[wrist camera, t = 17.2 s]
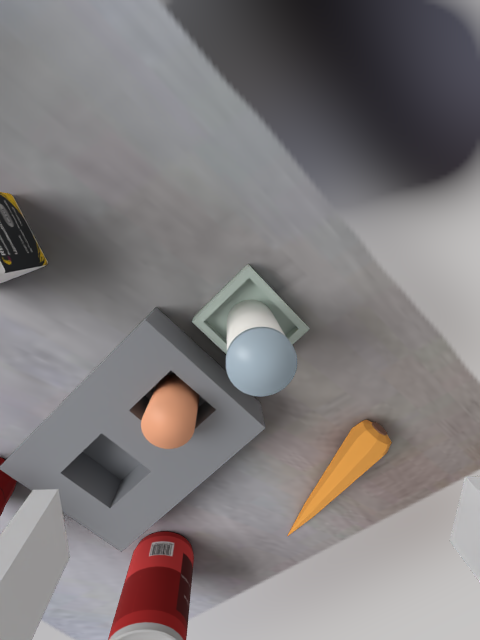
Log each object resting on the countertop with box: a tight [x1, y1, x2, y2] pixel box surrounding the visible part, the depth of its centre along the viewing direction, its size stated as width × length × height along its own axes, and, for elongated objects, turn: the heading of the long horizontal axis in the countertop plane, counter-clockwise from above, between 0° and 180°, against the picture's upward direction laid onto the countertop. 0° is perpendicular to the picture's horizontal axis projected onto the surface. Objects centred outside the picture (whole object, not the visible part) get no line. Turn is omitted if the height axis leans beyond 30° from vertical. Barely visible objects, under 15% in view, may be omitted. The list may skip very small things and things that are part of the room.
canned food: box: [108, 531, 194, 640], centre depth 38 cm, size 8×8×11 cm
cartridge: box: [226, 299, 297, 396], centre depth 29 cm, size 5×5×11 cm
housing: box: [0, 307, 265, 552], centre depth 35 cm, size 16×22×5 cm
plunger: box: [141, 373, 200, 449], centre depth 32 cm, size 5×5×6 cm
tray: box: [192, 264, 309, 354], centre depth 34 cm, size 9×8×2 cm
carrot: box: [288, 420, 392, 535], centre depth 40 cm, size 20×4×4 cm, turn 151°
